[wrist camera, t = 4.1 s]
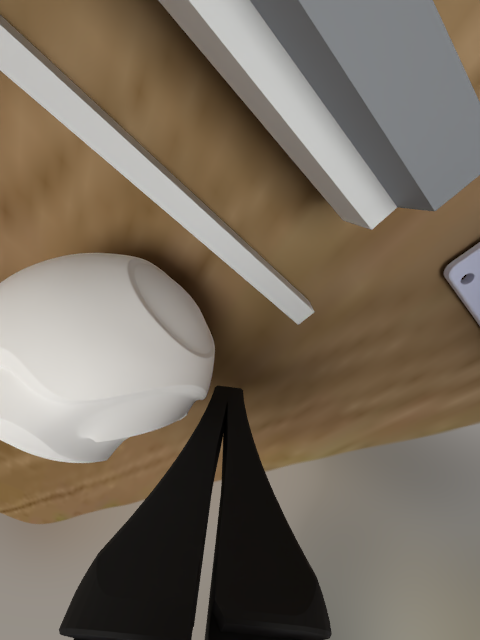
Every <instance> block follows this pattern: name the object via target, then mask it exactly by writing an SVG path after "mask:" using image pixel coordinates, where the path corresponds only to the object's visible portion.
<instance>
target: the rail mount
mask: <svg viewBox="0 0 480 640" xmlns="http://www.w3.org/2000/svg"><path fill="white" fill-rule="evenodd" d="M158 1H159V2H160V3H161V4H162V5H163V7H164V8H165V9H166V10H167V11H168V13H169V14H170V15H171V16H172V17H173V19H174V20H175V21H176V22H177V23H178V25H179V26H180V27H181V28H182V29H183V30H184V32H185V33H186V34H187V35H188V36H189V38H190V39H191V40H192V41H193V42H194V44H195V45H196V46H197V47H198V48H199V50H200V51H201V52H202V53H203V54H204V55H205V57H206V58H207V59H208V60H209V61H210V63H211V64H212V65H213V66H214V67H215V69H216V70H217V71H218V72H219V73H220V75H221V76H222V77H223V78H224V79H225V80H226V82H227V83H228V84H229V85H230V86H231V88H232V89H233V90H234V91H235V92H236V94H237V95H238V96H239V97H240V98H241V100H242V101H243V102H244V103H245V104H246V105H247V107H248V108H249V109H250V110H251V111H252V113H253V114H254V115H255V116H256V117H257V119H258V120H259V121H260V122H261V123H262V125H263V126H264V127H265V128H266V129H267V130H268V132H269V133H270V134H271V135H272V136H273V138H274V139H275V140H276V141H277V142H278V144H279V145H280V146H281V147H282V148H283V150H284V151H285V152H286V153H287V154H288V155H289V157H290V158H291V159H292V160H293V161H294V163H295V164H296V165H297V166H298V167H299V169H300V170H301V171H302V172H303V173H304V175H305V176H306V177H307V178H308V179H309V180H310V182H311V183H312V184H313V185H314V186H315V188H316V189H317V190H318V191H319V192H320V194H321V195H322V196H323V197H324V198H325V200H326V201H327V202H328V203H329V204H330V205H331V207H332V208H333V209H334V210H335V211H336V213H337V214H338V215H339V216H340V217H341V219H342V220H343V221H346V222H350V223H353V224H356V225H359V226H362V227H365V228H368V229H371V230H372V229H373V228H374V227H375V226H377V225H378V224H379V223H380V222H381V221H382V220H383V219H385V218H386V217H387V216H388V215H389V214H390V213H391V212H392V211H394V210H395V209H396V208H397V207H401V208H410V209H419V210H428V211H436V210H437V209H438V208H440V207H441V206H442V205H443V204H444V203H446V202H447V201H448V200H449V199H451V198H452V197H453V196H454V195H456V194H457V193H458V192H459V191H460V190H462V189H463V188H464V187H465V186H467V185H468V184H469V183H470V182H472V181H473V180H474V179H475V178H476V177H478V176H479V175H480V102H479V100H478V98H477V95H476V93H475V91H474V89H473V87H472V85H471V82H470V80H469V78H468V76H467V74H466V72H465V69H464V67H463V65H462V63H461V61H460V59H459V56H458V54H457V52H456V50H455V48H454V46H453V43H452V41H451V39H450V37H449V35H448V33H447V30H446V28H445V26H444V24H443V22H442V20H441V17H440V15H439V13H438V11H437V9H436V7H435V4H434V2H433V0H158ZM0 70H1V71H2V72H3V73H4V74H5V75H6V76H8V77H9V78H10V79H11V80H12V81H13V82H15V83H16V84H17V85H18V86H19V87H20V88H22V89H23V90H24V91H25V92H26V93H27V94H29V95H30V96H31V97H32V98H33V99H34V100H36V101H37V102H38V103H39V104H40V105H41V106H43V107H44V108H45V109H46V110H47V111H49V112H50V113H51V114H52V115H53V116H54V117H56V118H57V119H58V120H59V121H60V122H61V123H63V124H64V125H65V126H66V127H67V128H68V129H70V130H71V131H72V132H73V133H74V134H75V135H77V136H78V137H79V138H80V139H81V140H82V141H84V142H85V143H86V144H87V145H88V146H90V147H91V148H92V149H93V150H94V151H95V152H97V153H98V154H99V155H100V156H101V157H102V158H104V159H105V160H106V161H107V162H108V163H109V164H111V165H112V166H113V167H114V168H115V169H116V170H118V171H119V172H120V173H121V174H122V175H123V176H125V177H126V178H127V179H128V180H129V181H130V182H132V183H133V184H134V185H135V186H136V187H138V188H139V189H140V190H141V191H142V192H143V193H145V194H146V195H147V196H148V197H149V198H150V199H152V200H153V201H154V202H155V203H156V204H157V205H159V206H160V207H161V208H162V209H163V210H164V211H166V212H167V213H168V214H169V215H170V216H171V217H173V218H174V219H175V220H176V221H177V222H179V223H180V224H181V225H182V226H183V227H184V228H186V229H187V230H188V231H189V232H190V233H191V234H193V235H194V236H195V237H196V238H197V239H198V240H200V241H201V242H202V243H203V244H204V245H205V246H207V247H208V248H209V249H210V250H211V251H212V252H214V253H215V254H216V255H217V256H218V257H219V258H221V259H222V260H223V261H224V262H225V263H227V264H228V265H229V266H230V267H231V268H232V269H234V270H235V271H236V272H237V273H238V274H239V275H241V276H242V277H243V278H244V279H245V280H246V281H248V282H249V283H250V284H251V285H252V286H253V287H255V288H256V289H257V290H258V291H259V292H260V293H262V294H263V295H264V296H265V297H266V298H267V299H269V300H270V301H271V302H272V303H273V304H275V305H276V306H277V307H278V308H279V309H280V310H282V311H283V312H284V313H285V314H286V315H287V316H289V317H290V318H291V319H292V320H293V321H294V322H296V323H297V324H298V325H299V324H300V323H301V322H303V321H304V320H305V319H306V318H308V317H309V316H310V315H311V314H313V313H314V310H313V308H312V306H311V304H310V302H309V300H308V299H307V298H305V297H304V296H303V295H302V294H301V293H300V292H299V291H298V290H297V289H296V288H295V287H294V286H292V285H291V284H290V283H289V282H288V281H287V280H286V279H285V278H284V277H283V276H282V275H281V274H280V273H278V272H277V271H276V270H275V269H274V268H273V267H272V266H271V265H270V264H269V263H268V262H267V261H265V260H264V259H263V258H262V257H261V256H260V255H259V254H258V253H257V252H256V251H255V250H254V249H253V248H251V247H250V246H249V245H248V244H247V243H246V242H245V241H244V240H243V239H242V238H241V237H240V236H239V235H237V234H236V233H235V232H234V231H233V230H232V229H231V228H230V227H229V226H228V225H227V224H226V223H224V222H223V221H222V220H221V219H220V218H219V217H218V216H217V215H216V214H215V213H214V212H213V211H212V210H210V209H209V208H208V207H207V206H206V205H205V204H204V203H203V202H202V201H201V200H200V199H199V198H197V197H196V196H195V195H194V194H193V193H192V192H191V191H190V190H189V189H188V188H187V187H186V186H185V185H183V184H182V183H181V182H180V181H179V180H178V179H177V178H176V177H175V176H174V175H173V174H172V173H171V172H169V171H168V170H167V169H166V168H165V167H164V166H163V165H162V164H161V163H160V162H159V161H158V160H156V159H155V158H154V157H153V156H152V155H151V154H150V153H149V152H148V151H147V150H146V149H145V148H144V147H142V146H141V145H140V144H139V143H138V142H137V141H136V140H135V139H134V138H133V137H132V136H131V135H129V134H128V133H127V132H126V131H125V130H124V129H123V128H122V127H121V126H120V125H119V124H118V123H117V122H115V121H114V120H113V119H112V118H111V117H110V116H109V115H108V114H107V113H106V112H105V111H104V110H102V109H101V108H100V107H99V106H98V105H97V104H96V103H95V102H94V101H93V100H92V99H91V98H90V97H88V96H87V95H86V94H85V93H84V92H83V91H82V90H81V89H80V88H79V87H78V86H77V85H76V84H74V83H73V82H72V81H71V80H70V79H69V78H68V77H67V76H66V75H65V74H64V73H63V72H61V71H60V70H59V69H58V68H57V67H56V66H55V65H54V64H53V63H52V62H51V61H50V60H49V59H47V58H46V57H45V56H44V55H43V54H42V53H41V52H40V51H39V50H38V49H37V48H36V47H34V46H33V45H32V44H31V43H30V42H29V41H28V40H27V39H26V38H25V37H24V36H23V35H22V34H20V33H19V32H18V31H17V30H16V29H15V28H14V27H13V26H12V25H11V24H10V23H9V22H7V21H6V20H5V19H4V18H3V17H2V16H1V15H0ZM187 414H188V412H187ZM187 414H186V415H187ZM186 415H185V416H186ZM185 416H184V417H185ZM182 418H183V417H182ZM182 418H181V419H182ZM181 419H179V421H180V420H181Z"/></svg>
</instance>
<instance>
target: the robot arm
mask: <svg viewBox="0 0 480 640" xmlns="http://www.w3.org/2000/svg"><path fill="white" fill-rule="evenodd" d="M466 274H467V275H466ZM465 275H466V277H465V278H464V279H463V280H461V279H462V277H463V276H465ZM444 277H445V278H446V280H447V281H448V282H449V284H450V285H451V287H452V288H453V289H454V291H455V292H456V294H457V295H458V296H459V298H460V299H461V300H462V302H463V303H464V305H465V306H466V307H467V309H468V310H469V312H470V313H471V314H472V316H473V317H474V319H475V320H476V321H477V323H478V324H479V326H480V242H479V243H478V244H476V245H475V246H473V247H472V248H471V249H469V250H468V251H466V252H465V253H463V254H462V255H461V256H459V257H458V258H456V259H455V260H453V261H452V262H451V263H450V264H448V265H447V267H446V268H445V270H444ZM223 433H224V435H223ZM222 438H223V462H222V486H221V498H220V507H219V517H218V525H217V535H216V545H215V553H214V562H213V572H212V580H211V589H210V598H209V606H208V615H207V624H206V634H205V640H325V639H329V638H330V636H331V628H330V621H329V617H328V613H327V609H326V605H325V601H324V598H323V595H322V592H321V589H320V586H319V583H318V580H317V577H316V575H315V573H314V572H313V570H312V568H311V566H310V564H309V562H308V561H307V559H306V557H305V555H304V553H303V551H302V549H301V548H300V546H299V544H298V542H297V540H296V538H295V536H294V534H293V532H292V530H291V528H290V526H289V524H288V523H287V520H286V518H285V516H284V514H283V512H282V510H281V508H280V505H279V503H278V501H277V499H276V497H275V495H274V493H273V490H272V488H271V486H270V483H269V481H268V478H267V476H266V474H265V471H264V468H263V466H262V463H261V461H260V458H259V455H258V452H257V449H256V446H255V443H254V440H253V437H252V433H251V430H250V426H249V423H248V419H247V414H246V410H245V404H244V398H243V390H242V389H241V388H232V387H224V386H216V387H215V389H214V392H213V395H212V398H211V400H210V402H209V404H208V407H207V409H206V411H205V413H204V414H203V416H202V418H201V420H200V422H199V424H198V426H197V427H196V429H195V431H194V432H193V434H192V436H191V437H190V439H189V441H188V442H187V444H186V445H185V447H184V448H183V450H182V451H181V453H180V454H179V456H178V457H177V459H176V460H175V462H174V463H173V464H172V466H171V467H170V469H169V470H168V471H167V473H166V474H165V475H164V477H163V478H162V479H161V481H160V482H159V483H158V484H157V486H156V487H155V488H154V490H153V491H152V492H151V493H150V495H149V496H148V497H147V498H146V499H145V501H144V502H143V503H142V504H141V505H140V507H139V508H138V509H137V510H136V511H135V513H134V514H133V515H132V516H131V517H130V519H129V520H128V521H127V522H126V523H125V524H124V525H123V527H122V528H121V529H120V530H119V531H118V532H117V533H116V534H115V535H114V537H113V538H112V539H111V540H110V541H109V542H108V543H107V544H106V545H105V547H104V548H103V549H102V550H101V551H100V552H99V553H98V555H97V557H96V558H95V559H94V561H93V563H92V564H91V566H90V567H89V569H88V571H87V573H86V574H85V576H84V577H83V579H82V581H81V583H80V585H79V587H78V589H77V590H76V592H75V594H74V597H73V599H72V601H71V603H70V606H69V608H68V610H67V613H66V615H65V617H64V619H63V621H62V624H61V626H60V629H59V631H60V634H61V635H64V636H68V637H73V638H74V640H191V637H192V630H193V627H194V621H195V613H196V605H197V598H198V591H199V582H200V575H201V568H202V561H203V552H204V545H205V538H206V530H207V523H208V516H209V508H210V501H211V493H212V487H213V482H214V477H215V472H216V467H217V462H218V457H219V453H220V448H221V443H222Z"/></svg>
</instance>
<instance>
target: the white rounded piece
mask: <svg viewBox="0 0 480 640" xmlns="http://www.w3.org/2000/svg"><path fill="white" fill-rule="evenodd" d="M214 357H215V345H214V340H213V337H212V335H211V332H210V330H209V328H208V326H207V324H206V322H205V319H204V317H203V315H202V313H201V311H200V309H199V307H198V306H197V304H196V303H195V301H194V300H193V299H192V297H191V296H190V295H189V294H188V293H187V292H186V291H185V290H184V289H183V288H182V287H181V286H180V285H179V284H178V283H176V282H175V281H174V280H173V279H172V278H170V277H169V276H168V275H167V274H166V273H165V272H164V271H162V270H161V269H160V268H158V267H157V266H155V265H154V264H152V263H151V262H149V261H147V260H144V259H142V258H138V257H134V256H128V255H121V254H110V253H80V254H72V255H66V256H61V257H57V258H53V259H49V260H46V261H43V262H40V263H37V264H34V265H32V266H29V267H27V268H25V269H23V270H21V271H19V272H17V273H15V274H13V275H12V276H10V277H8V278H7V279H5V280H4V281H2V282H1V283H0V440H2V441H4V442H6V443H8V444H10V445H12V446H14V447H16V448H18V449H20V450H23V451H25V452H27V453H30V454H33V455H36V456H39V457H43V458H47V459H51V460H55V461H61V462H70V463H91V462H99V461H106V460H107V459H108V458H109V457H110V456H111V455H112V453H113V452H114V451H115V450H116V449H117V447H118V446H119V445H120V444H121V443H122V442H123V441H125V440H126V439H127V438H129V437H131V436H136V435H139V434H143V433H147V432H150V431H153V430H156V429H159V428H162V427H165V426H167V425H169V424H172V423H174V422H176V421H178V420H179V419H181V418H182V417H184V416H185V415H186V414H187V412H188V411H189V409H190V408H191V406H192V405H193V403H194V402H195V401H196V400H203V399H205V398H206V396H207V393H208V390H209V387H210V382H211V378H212V373H213V366H214Z"/></svg>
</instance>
